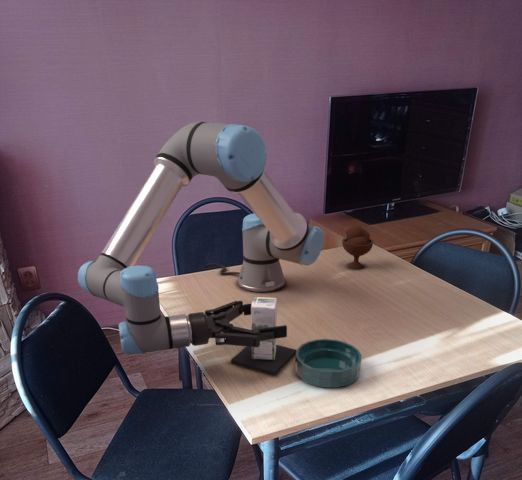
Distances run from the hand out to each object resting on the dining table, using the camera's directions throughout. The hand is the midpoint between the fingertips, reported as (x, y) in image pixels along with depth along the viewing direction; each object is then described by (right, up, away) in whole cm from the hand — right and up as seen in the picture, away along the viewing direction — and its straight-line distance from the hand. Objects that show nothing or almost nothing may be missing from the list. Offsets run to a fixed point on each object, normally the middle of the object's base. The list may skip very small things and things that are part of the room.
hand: (277, 318), depth 121 cm
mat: (-3, -10, +4) cm, 11 cm away
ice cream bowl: (+30, +22, +60) cm, 71 cm away
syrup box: (-3, -9, +4) cm, 10 cm away
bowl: (+12, -13, -1) cm, 17 cm away
